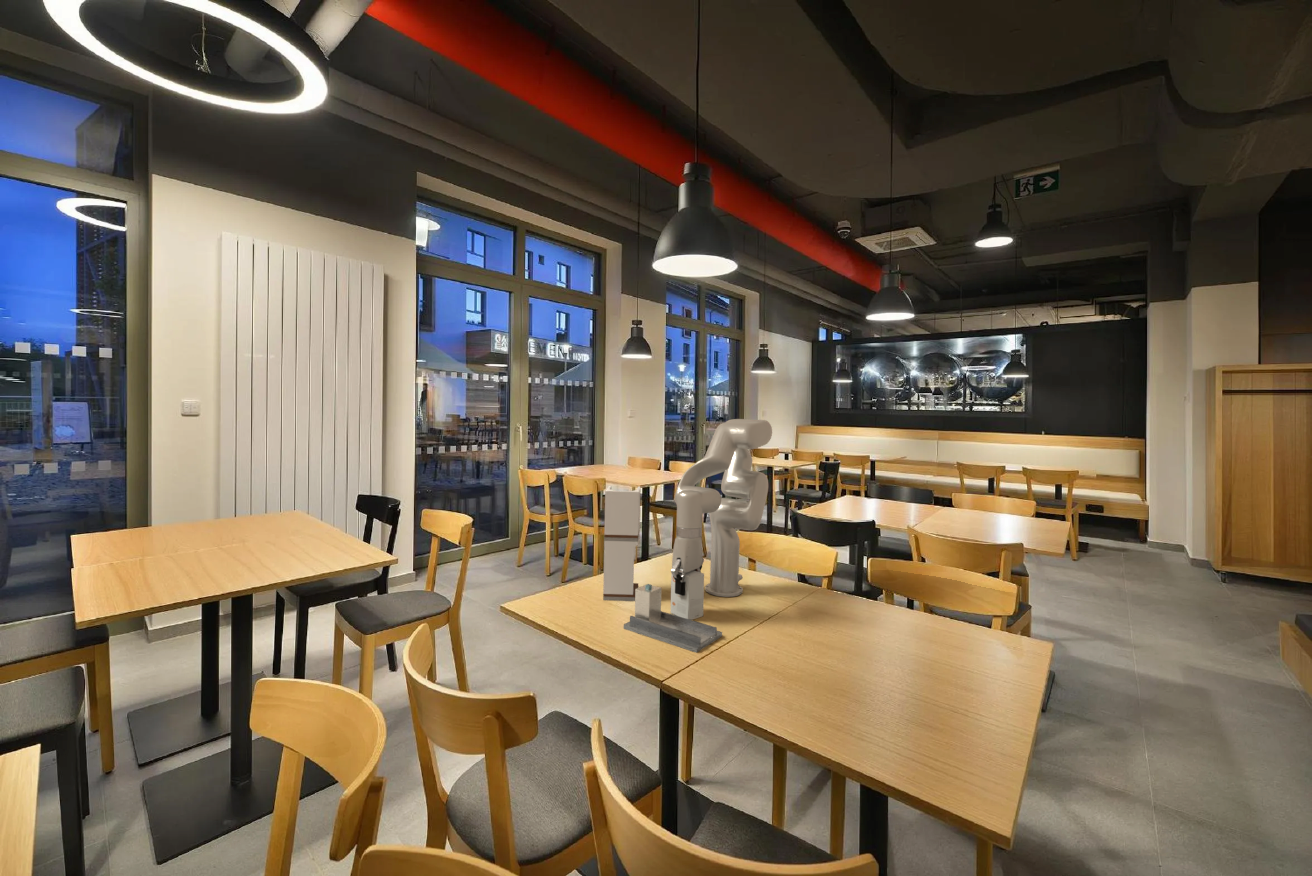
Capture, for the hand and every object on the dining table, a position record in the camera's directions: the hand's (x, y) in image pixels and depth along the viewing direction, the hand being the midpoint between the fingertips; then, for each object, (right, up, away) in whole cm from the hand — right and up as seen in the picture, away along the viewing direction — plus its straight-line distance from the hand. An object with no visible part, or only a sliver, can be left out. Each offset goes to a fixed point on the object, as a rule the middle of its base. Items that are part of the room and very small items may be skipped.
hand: (687, 590), depth 167 cm
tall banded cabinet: (-21, -6, +17) cm, 27 cm away
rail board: (-5, -8, -13) cm, 16 cm away
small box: (0, -8, 0) cm, 8 cm away
